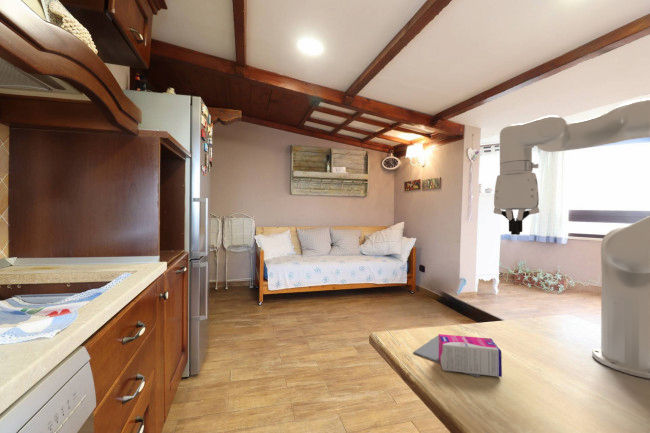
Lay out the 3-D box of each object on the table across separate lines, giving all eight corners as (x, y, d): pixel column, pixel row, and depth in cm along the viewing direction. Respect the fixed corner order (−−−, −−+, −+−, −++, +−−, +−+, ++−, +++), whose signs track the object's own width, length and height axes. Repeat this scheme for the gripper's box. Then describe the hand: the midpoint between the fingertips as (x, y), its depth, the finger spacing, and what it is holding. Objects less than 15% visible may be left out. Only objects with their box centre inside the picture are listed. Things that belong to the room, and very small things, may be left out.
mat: (496, 355, 68) (496, 353, 68) (477, 377, 58) (477, 375, 58) (438, 336, 78) (438, 335, 78) (413, 353, 68) (413, 351, 68)
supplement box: (501, 349, 57) (442, 345, 60) (502, 377, 57) (443, 372, 60) (491, 336, 63) (437, 333, 65) (492, 362, 63) (438, 358, 65)
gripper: (550, 168, 76) (550, 235, 76) (489, 174, 87) (489, 233, 87) (547, 164, 71) (547, 236, 71) (482, 171, 81) (482, 234, 81)
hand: (515, 234), depth 79 cm, fingers closed
